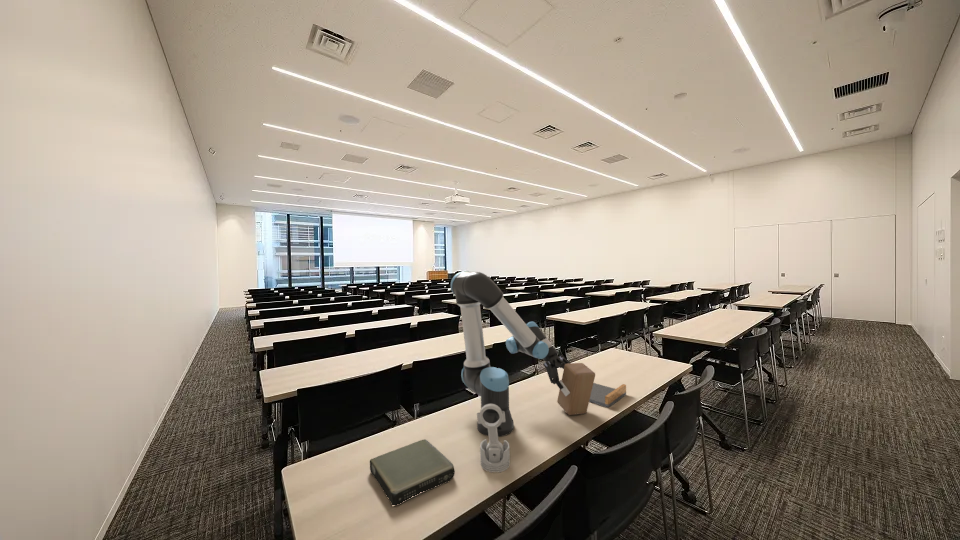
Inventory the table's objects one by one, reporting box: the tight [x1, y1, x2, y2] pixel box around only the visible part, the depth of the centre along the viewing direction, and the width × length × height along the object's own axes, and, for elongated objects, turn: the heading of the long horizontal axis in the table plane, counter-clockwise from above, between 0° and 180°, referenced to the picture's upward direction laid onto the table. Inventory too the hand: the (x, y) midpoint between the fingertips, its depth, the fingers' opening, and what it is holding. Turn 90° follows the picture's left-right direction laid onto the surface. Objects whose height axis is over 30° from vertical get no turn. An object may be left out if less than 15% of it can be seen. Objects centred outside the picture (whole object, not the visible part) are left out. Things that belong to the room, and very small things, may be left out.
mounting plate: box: [589, 382, 627, 409], centre depth 168 cm, size 20×20×5 cm
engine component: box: [476, 404, 511, 473], centre depth 115 cm, size 11×20×10 cm
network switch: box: [369, 438, 456, 506], centre depth 110 cm, size 23×23×5 cm
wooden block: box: [556, 362, 596, 416], centre depth 150 cm, size 10×10×20 cm
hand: (575, 390), depth 150 cm, fingers closed on wooden block, 12 cm apart
